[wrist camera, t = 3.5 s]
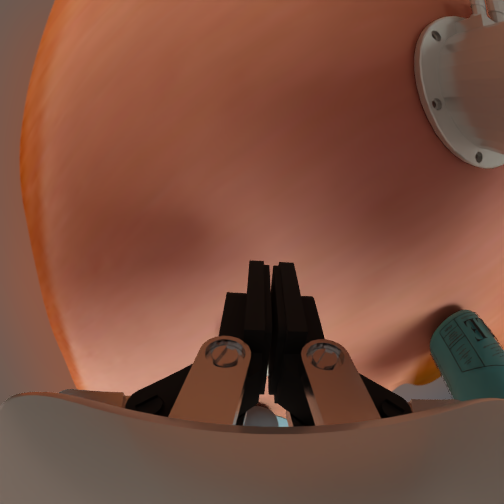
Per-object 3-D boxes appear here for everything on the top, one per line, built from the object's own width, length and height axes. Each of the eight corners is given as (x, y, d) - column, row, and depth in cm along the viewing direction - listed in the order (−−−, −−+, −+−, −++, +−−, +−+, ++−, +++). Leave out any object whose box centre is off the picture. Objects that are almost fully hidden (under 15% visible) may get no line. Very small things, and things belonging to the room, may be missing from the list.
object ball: (236, 396, 28) (232, 433, 24) (280, 399, 28) (281, 435, 24) (236, 416, 31) (232, 450, 26) (276, 419, 31) (275, 452, 26)
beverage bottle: (417, 353, 25) (475, 514, 7) (427, 306, 22) (516, 493, 4) (463, 336, 24) (531, 475, 6) (476, 290, 21) (574, 441, 3)
